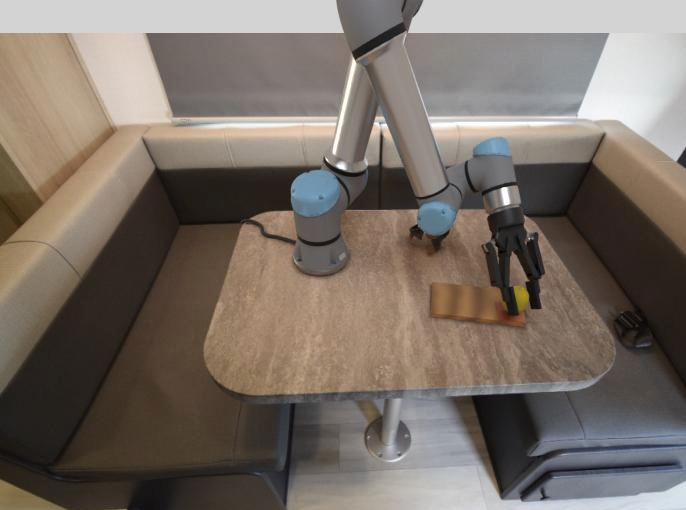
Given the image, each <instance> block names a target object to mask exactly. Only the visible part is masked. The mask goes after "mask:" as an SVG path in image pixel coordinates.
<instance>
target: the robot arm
mask: <svg viewBox="0 0 686 510" xmlns="http://www.w3.org/2000/svg"><path fill="white" fill-rule="evenodd" d="M424 1H425V0H335V2H336V8H337V13H338V18H339V22H340V25H341V28H342V31H343V34H344V38H345V40H346V42H347V45H348V47H349V50H350V57H349V59H348V65H347V70H346V75H345V80H344V84H343V89H342V94H341V100H340V104H339V110H338V114H337V119H336V123H335V129H334V134H333V138H332V144H331V145H329V146H327V147H326V148H325V150H324V152H323V157H322V162H321V167H320V169H313V170H310V171H309V172H306V171H305V172H303V173H301V174H300V175H298V176H296V178H295V179H294V180H293V181H292V184H291V187H290V194H291V195H290V204H291V207H292V212H293V219H294V224H295V225H294V226H295V232H296V240H295V239H292V238H289V237H287V236H286V237H285V236H282V235H278V234H272V233H267V232H265V229H264V225H263V224H262V223H260V222H259V221H257V220H254V219H252V218H243V219H242V220H241V221H240V222H239V223H240V224H242V225H243V224H245V223H251V224H254V225H256V226H258V227H259V229H260V230H259V231H260V233H261V234H262V236H264V237H267V238H272V239H276V240H277V239H278V240H281V241H284V242H287V243H291V244H294V250H293V253H292V256H293V263H294V265H295V268H297V269H298V270H299V271H300V272H302V273H304V274H305V275H308V276H314V277H325V276H330V275H331V276H332V275H334V274H336V273H338V272H341V271H342V270H343V269H344V268H345V267H346V265H347V264H348V262H349V249H348V247H347V245H346V242H345V240H344V238H343V235H342V222H341V219H342V218H341V217H342V215H343V214H344V213H345V212H346V210H348V208H349V207H350V205H352V203H354V201H355V200H356V199H357V198H358V197H359V196H360V195H362V192H363V191H364V190H365V188H366V186H367V183H368V179H369V171H368V166H369V160H368V158H367V157H366V153H367V148H368V145H369V143H370V138H371V134H372V131H373V128H374V125H375V122H376V117H377V113H378V110H379V108H380V111H381V113H382V116H383V118H384V121H385V123H386V126H387V129H388V131H389V134H390V136H391V138H392V142H393V143H394V146H395V149H396V151H397V154H398V156H399V159H400V161H401V163H402V166H403V168H404V171H405V173H406V177H407V178H408V181H409V183H410V186H411V188H412V191H413V193H414V196H415V199H416V202H417V204H418V207H419V208H418V211H417V215H416V221H417V222H416V224H418V227H420V229H421V230H422V231H424V234H426V233H427V234H429V235H433V236H438V235H442V234H444V233H446V232H447V231H448V230H449V229H450V230H451V228H452V226H453V224H454V222H455V221H456V220H457V216H458V213H459V211H460V209H461V206H462V204H463V202H464V199H465V197H468V196H471V195H474V194H476V193H478V192H481V197H482V201H483V207H484V210H485V214H487V217H486V221H487V225H488V229H489V232H490V233H491V238H490V240H489V241H487V242H484V243H482V244H481V246H480V247H481V249H482V251H483V253H484V257H485V261H486V267H487V272H488V273H487V274H488V277H489V283H490V287H491V288H496V289H500V290H501V295H502V300H503V302H506V306H507V310H508V315H509V316H518V315H519V311H518V306H517V302H516V297H515V292H514V288H513V285H512V286H511V285H510V284H511V283H510V282H511V281H510V280H511V257H512V255H513V254H514V255H515V256H516V258H517V260H518V262H519V264H520V267H521V268H522V270H523V272H524V274H525V276H526V279H527V281H524V283H525V289H526V290H527V291H528V293H529V302H528V304H529V307H530V310H542V309H543V306H542V302H541V297H540V294H541V286H540V281H539V280H541V279H542V276H544V275H545V274H546V270H545V269H546V268H545V266H544V261H543V257H542V253H541V249H540V245H539V232H538V231H534V232H529V231H528V230H527V229H526V227H525V223H526V219H525V215H524V210H523V207H521V204H522V198H521V195H520V190H519V187H518V182H517V177H516V172H515V166H514V162H513V155H512V153H511V150H510V146H509V142H508V140H507V138H506V137H503V136H494V137H490V138H486V139H484V140H482V141H480V142H479V143H477V144H475V145H474V146H473V149H472V157H471V158H469V159H467V160H465V161H462V162H460V163H458V164H455V165H452V166H450V167H447V168H446V166H445V164H444V160H443V157H442V154H441V151H440V147H439V144H438V142H437V139H436V135H435V133H434V130H433V127H432V124H431V121H430V118H429V114H428V112H427V109H426V106H425V103H424V100H423V97H422V94H421V91H420V87H419V85H418V82H417V79H416V76H415V72H414V69H413V67H412V64H411V61H410V58H409V55H408V52H407V48H406V46H405V45H406V40H407V37H408V34H409V31H410V27H411V24H412V21H413V18H415V17H416V15H417V14H418V13H419V11H420V9H421V7H422V6H423V3H424ZM496 249H497V250H496Z"/></svg>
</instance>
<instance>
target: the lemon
mask: <svg viewBox="0 0 686 510" xmlns="http://www.w3.org/2000/svg"><path fill="white" fill-rule="evenodd" d="M512 286H513V285H512ZM513 288H514V292H515V297H516V302H517V306H518V311H519V313H520V312H522V311H524V310H526V309H527V307H528V305H529V293H528V291H527V289H526V287H523V286H520V285H514V286H513ZM502 305H503V307H504V309H505V310H506V311H507V312H508V310H507V306H506V302H503V300H502Z"/></svg>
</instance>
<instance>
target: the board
mask: <svg viewBox="0 0 686 510" xmlns="http://www.w3.org/2000/svg"><path fill="white" fill-rule="evenodd" d="M430 288H431V291H430V292H431V296H430V297H431V298H430V299H431V300H430V302H431V304H430V306H431V307H430V312H431V313H430V317H431V318H438V319H446V320H447V319H448V320H457V321H463V322H474V323H483V324H491V325H501V326H511V327H517V328H525V327H526V325H527V319H526V315H525V312H524V310H523V311H522V312H520V313H519V315H518V316H509V315H508V312H507V311H506V310H505V309H504V307H503V305H502V295H501V290H500V288H497V287H485V286H476V285H468V284H467V285H466V284H457V283H448V282H438V281H437V282H436V281H432V282H431V287H430Z"/></svg>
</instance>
